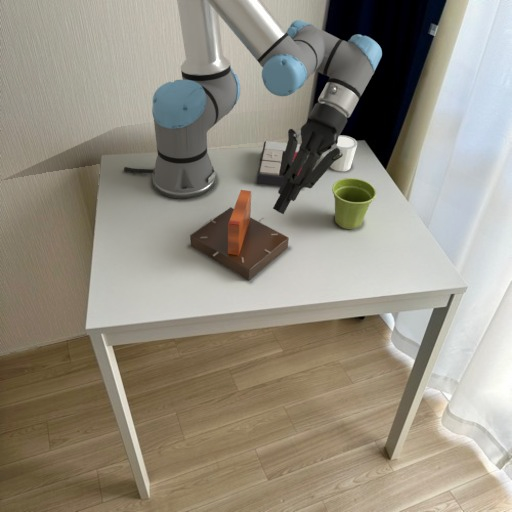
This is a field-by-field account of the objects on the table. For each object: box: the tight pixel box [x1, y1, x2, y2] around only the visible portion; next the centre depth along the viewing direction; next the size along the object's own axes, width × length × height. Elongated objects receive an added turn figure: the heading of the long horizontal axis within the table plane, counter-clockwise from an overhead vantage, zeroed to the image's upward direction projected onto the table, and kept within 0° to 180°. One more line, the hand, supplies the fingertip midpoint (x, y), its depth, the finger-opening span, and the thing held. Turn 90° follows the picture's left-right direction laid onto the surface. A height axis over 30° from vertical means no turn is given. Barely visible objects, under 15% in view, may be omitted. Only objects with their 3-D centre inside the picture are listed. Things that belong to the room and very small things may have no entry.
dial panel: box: [189, 206, 290, 281], centre depth 110 cm, size 16×16×3 cm
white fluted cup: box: [329, 134, 358, 172], centre depth 134 cm, size 7×7×7 cm
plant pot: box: [331, 177, 377, 230], centre depth 116 cm, size 9×9×9 cm
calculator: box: [256, 140, 304, 187], centre depth 132 cm, size 11×4×15 cm
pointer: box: [228, 189, 252, 256], centre depth 106 cm, size 12×2×8 cm, turn 170°
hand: (278, 211), depth 109 cm, fingers closed
